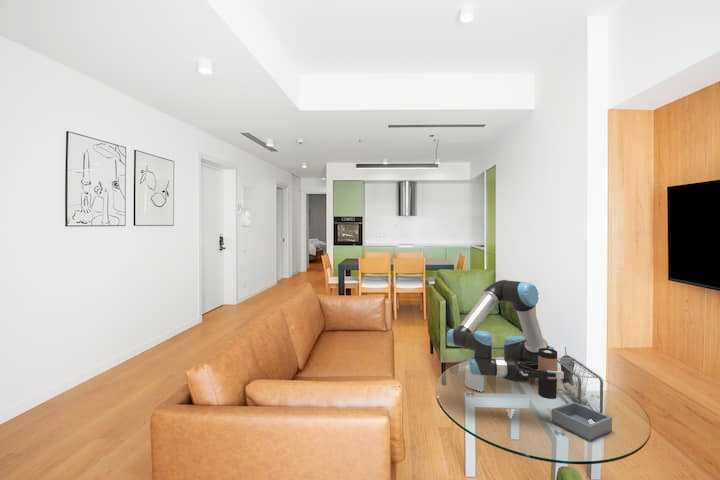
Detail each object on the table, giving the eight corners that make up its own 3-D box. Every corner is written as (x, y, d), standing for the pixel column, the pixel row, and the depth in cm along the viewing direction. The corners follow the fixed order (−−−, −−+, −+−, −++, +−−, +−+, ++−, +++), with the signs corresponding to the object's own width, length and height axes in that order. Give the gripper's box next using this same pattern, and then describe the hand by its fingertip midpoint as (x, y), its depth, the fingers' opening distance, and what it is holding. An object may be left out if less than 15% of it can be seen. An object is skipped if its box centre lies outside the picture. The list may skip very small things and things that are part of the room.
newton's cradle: (603, 417, 159) (603, 378, 158) (578, 415, 160) (579, 377, 160) (571, 389, 188) (572, 356, 188) (551, 388, 190) (551, 355, 190)
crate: (573, 414, 161) (573, 401, 161) (611, 432, 146) (612, 417, 146) (551, 422, 153) (551, 409, 153) (589, 441, 139) (589, 426, 139)
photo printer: (463, 386, 191) (464, 363, 190) (468, 384, 193) (468, 362, 193) (480, 393, 182) (480, 369, 182) (485, 391, 185) (485, 367, 185)
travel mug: (534, 391, 159) (534, 348, 159) (550, 391, 160) (550, 347, 160) (543, 399, 152) (544, 353, 152) (560, 399, 152) (561, 353, 152)
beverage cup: (569, 387, 191) (569, 350, 191) (556, 382, 197) (557, 346, 197) (577, 384, 194) (577, 348, 194) (564, 379, 201) (564, 345, 201)
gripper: (499, 368, 169) (550, 371, 165) (511, 385, 148) (569, 389, 145) (499, 352, 169) (550, 355, 165) (511, 368, 148) (569, 371, 145)
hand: (559, 371), depth 155 cm, fingers closed on travel mug, 7 cm apart
